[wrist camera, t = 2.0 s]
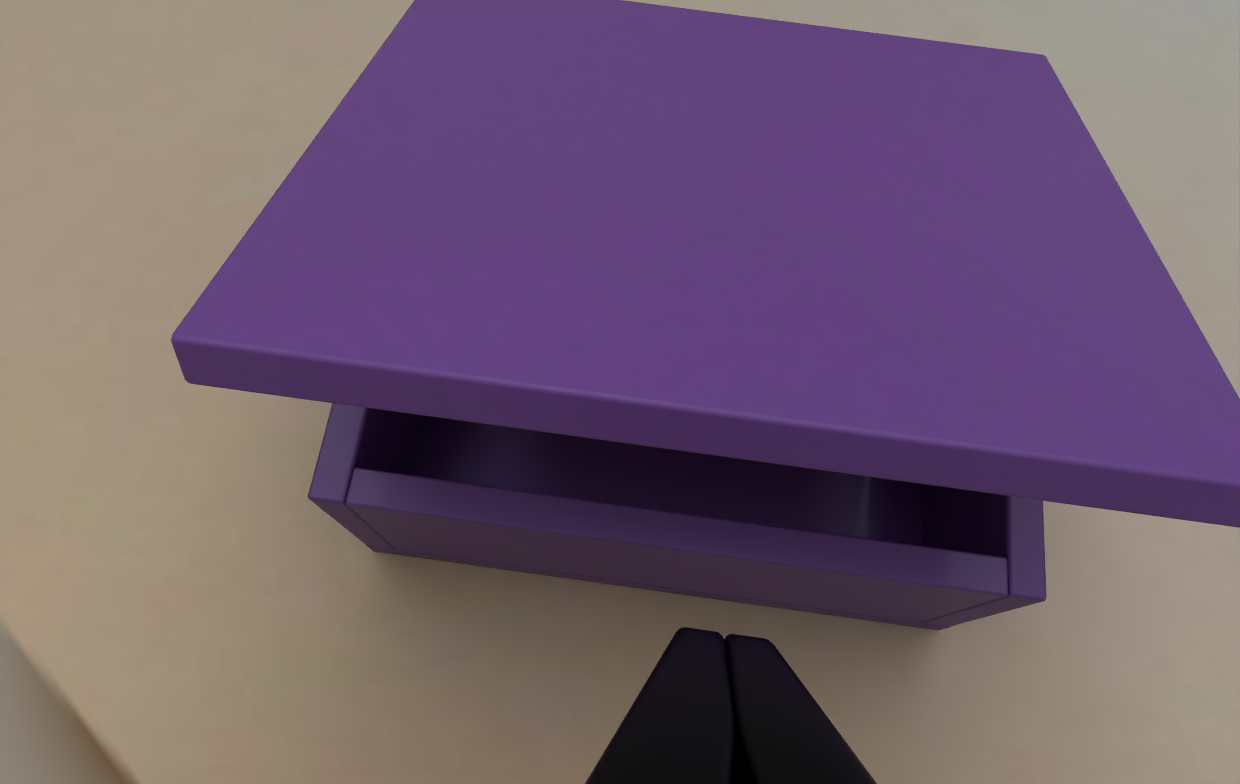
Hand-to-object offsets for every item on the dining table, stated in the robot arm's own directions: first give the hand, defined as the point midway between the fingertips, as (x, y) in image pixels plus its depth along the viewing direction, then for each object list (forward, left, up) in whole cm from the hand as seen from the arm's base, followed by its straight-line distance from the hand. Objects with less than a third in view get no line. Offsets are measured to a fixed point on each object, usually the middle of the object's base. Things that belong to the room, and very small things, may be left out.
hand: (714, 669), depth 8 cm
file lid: (+6, +5, -5) cm, 9 cm away
